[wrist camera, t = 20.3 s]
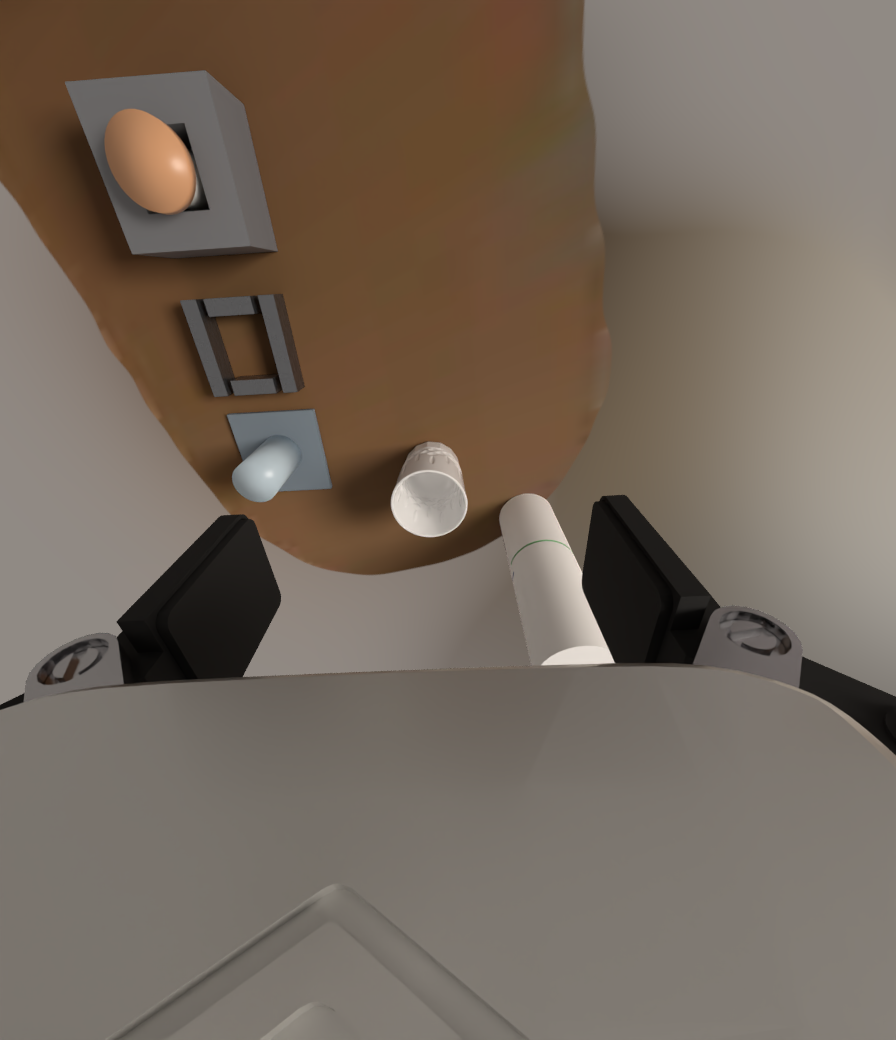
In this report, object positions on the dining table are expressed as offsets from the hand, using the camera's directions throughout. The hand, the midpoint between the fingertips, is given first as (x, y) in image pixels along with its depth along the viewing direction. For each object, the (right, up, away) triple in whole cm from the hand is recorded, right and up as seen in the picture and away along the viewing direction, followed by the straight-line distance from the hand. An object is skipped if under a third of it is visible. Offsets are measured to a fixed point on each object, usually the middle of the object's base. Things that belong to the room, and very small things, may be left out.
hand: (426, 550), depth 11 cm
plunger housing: (-21, +31, +24) cm, 44 cm away
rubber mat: (-19, +9, +37) cm, 43 cm away
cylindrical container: (+11, +1, +42) cm, 43 cm away
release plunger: (-21, +30, +23) cm, 43 cm away
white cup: (-1, +8, +38) cm, 39 cm away
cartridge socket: (-20, +19, +31) cm, 41 cm away
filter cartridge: (-19, +9, +36) cm, 42 cm away
